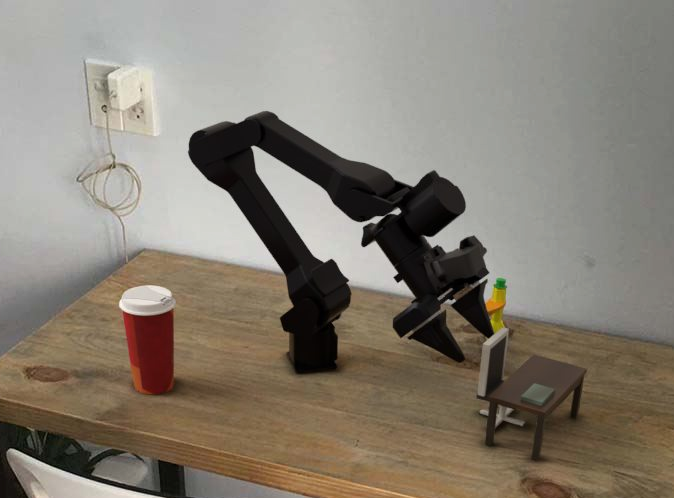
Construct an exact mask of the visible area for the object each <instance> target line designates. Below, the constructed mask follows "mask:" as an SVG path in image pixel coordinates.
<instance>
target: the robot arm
mask: <svg viewBox="0 0 674 498" xmlns="http://www.w3.org/2000/svg"><path fill="white" fill-rule="evenodd" d="M252 147H256V148H258V149H259V150H262V151H263V152H264V153H266V154H268V155H269V156H271V157H272V158H274V159H276V160H277V161H279V162H280V163H282V164H284V165H285V166H287V167H289V168H290V169H292V170H294V171H295V172H296V173H298V174H300V175H301V176H303V177H305V178H306V179H308V180H310V181H311V182H313V183H314V184H316V185H318V186H319V187H320V188H321V189H322V190H323V191H325V192H326V193H327V196H328V197H329V199H330V200H331V202H332V204H333V205H334V206H335V207H336V208H338V210H340V211H341V212H342V213H343V214H344V215H345V216H347V218H349V219H350V220H351V221H354V222H356V223H363V222H364V223H366V222H368V221H370V220H372V219H374V218H376V217H382V218H381V219H380V220H378V221H377V222H376V223H374V222H369V223H367V224H365V225H363V226H362V237H361V242H360V246H361V247H362V248H366V247H368V246H369V245H371V244H373V243H376V244H377V246H378V247H379V248H380V250H381V251H382V253H383V254H384V256H385V257H386V259H387V260H388V261H389V263H390V265H392V267H394V269H395V271H396V272H397V274H395V275H394V276H393V277H392V278H393V279H394V281H395V282H396V284H399V283H400V282H402V281H403V282H404V284H405V285H406V287H407V288H408V289H409V291H410V292H411V293H412V295H413V297H414V299H413V300H412V301H410V303H411V304H410V305H409V306H407V307H406V308H404V309H403V310H402V311H401V312H399V313H398V314H397V315H395V316H394V317H393V318H392V328H393V330H394V331H395V333H396V334H397V336H398V337H399V338H400V339H402V338H404V337H405V336H406V335H408V334H409V333H411V332H412V333H411V334H410V335H408V336H407V337H406V339H408V340H409V341H412V340H414V341H415V342H417V343H418V342H419V343H420V344H422V345H424V346H427V347H429V348H431V349H433V350H434V351H436V352H438V353H440V354H441V355H443V356H445V357H447V358H448V359H451V360H452V361H455V363H457V364H461V363H463V362H465V361H466V356H465V355H464V352H463V350H462V349H461V346H460V345H459V344H458V342H457V340H456V339H455V337H454V335H453V334H452V332H451V329H450V328H449V327H448V325H447V309H444V310H443V311H441V310H442V309H441V308H442V305H443V304H444V303H446V302H447V301H450V302H451V301H453V300H455V301H454V302H453V303H451V304H450V307H451V308H452V309H453V310H454V311H456V313H458V314H459V315H460V316H461V317H462V318H463V319H465V320H466V321H467V322H468V323H469V324H470V325H471V326H472V327H473V328H474V329H476V331H478V332H479V333H480V334H481V335H482V336H484V337H485V338H486V337H487V338H488V339H489V338H490V337H491V336H493V335H494V331H493V327H492V324H491V321H490V320H491V317H490V315H488V311H487V308H486V305H485V303H486V301H485V297H484V296H485V290H486V285H487V284H488V283H489V280H488V278H485V277H486V276H488V275H489V274H490V271H489V270H488V268H487V265H486V262H485V258H484V257H485V255H486V254H487V252H488V249H487V248H486V247H485V246H484V245H483V244H482V243H483V242H481V241H480V240H479V239H478V238H477V236H475V235H469V236H466V237H464V238H463V239H461V240H460V241H459V248H458V247H457V248H455V249H454V250H451V251H448V252H446V251H445V250H444V248H443V247H442V246H441V245H439V244H436V245H435V246H433V247H432V245H431V244H430V242H429V241H428V239H427V238H434V237H435V236H436V235H438V234H439V233H440V232H441V231H443V230H445V228H447V227H448V226H449V225H450V224H452V222H454V221H455V220H457V219H458V218H460V216H462V215H463V214H464V213H465V211H466V208H467V203H466V199H465V196H464V194H463V193H462V191H461V189H460V187H459V186H458V185H455V184H454V183H453V182H452V181H450V180H449V179H448V178H445V177H443V176H440V175H439V173H438V171H436V169H432V170H431V171H429V172H427V173H426V174H425V175H423V176H422V177H421V178H420V180H419V182H417V183H416V184H415V185H414V186H413V185H410V184H407V183H405V182H402V181H399V180H397V179H395V178H394V177H393V175H391V174H390V173H389V172H388V171H386V170H384V169H383V168H379V167H377V166H374V165H372V164H370V163H366V162H364V161H363V162H362V161H356V160H350V159H347V158H345V157H342V156H340V155H339V154H337V153H335V152H334V151H332V150H330V149H329V148H327V147H326V146H324V145H322V144H321V143H319V142H317V141H316V140H314V139H312V138H311V137H310V136H308V135H306V134H304V133H303V132H301V131H299V130H298V129H296V128H295V127H293V126H291V125H289V124H288V123H287V122H285V121H283V120H281V119H280V118H279V116H278V115H277V114H276V113H275V112H272V111H269V110H263V111H260V112H257V113H254V114H252V115H249V116H247V117H245V118H244V119H243V120H242V121H239V122H234V121H233V122H232V121H228V120H225V121H220V122H217V123H215V124H212V125H209V126H207V127H204V128H200V129H198V130H196V131H194V132H193V133H191V136H190V137H189V141H188V151H187V154H188V158H189V160H190V162H191V163H192V165H194V167H195V168H196V169H197V170H198V172H199V173H201V174H202V176H203V177H204V178H205V179H206V180H207V181H208V182H209V183H212V184H214V185H215V186H217V188H218V187H219V188H220V189H222V190H223V191H225V192H227V193H228V194H229V196H230V197H231V199H232V200H233V201H234V203H235V204H236V206H237V208H238V209H239V210H240V212H241V213H242V215H243V216H244V217H245V219H246V220H247V222H248V223H249V225H250V226H251V228H252V230H253V231H254V232H255V233H256V235H257V236H258V237H259V239H260V241H261V242H262V244H263V245H264V247H265V248H266V249H267V251H268V253H269V254H270V255H271V257H272V258H273V260H274V261H275V263H276V265H278V267H279V269H280V270H282V273H283V274H284V277H285V278H286V279H285V281H286V287H287V295H288V299H289V300H290V303H291V305H292V307H291V308H289V309H288V310H287V311H286V312H285V313H284V314H282V315H281V316H279V320H280V324H281V327H282V330H283V332H286V333H288V351H286V353H285V356H286V358H287V360H288V361H289V363H290V365H291V368H292V369H293V372H294V373H296V374H302V373H303V374H304V373H313V372H314V373H315V372H321V371H323V372H324V371H331V370H332V371H333V370H337V369H338V364H337V362H336V361H337V360H338V357H339V356H338V355H339V354H338V353H339V349H338V346H339V335H338V334H337V332H336V329H335V328H336V326H335V325H334V323H335V321H338V320H340V318H341V316H342V315H343V313H344V312H345V311H347V310H348V308H349V307H350V305H351V300H352V294H353V293H352V290H351V288H350V286H349V284H348V283H349V282H350V279H349V278H348V277H347V276H345V275H344V273H342V271H341V269H340V267H339V266H338V263H337V261H335V260H334V259H333V258H330V259H328V260H327V261H325V262H324V261H323V260H322V259H321V260H320V259H319V258H317V257H316V256H315V255H314V254H313V253H312V252H311V250H310V249H309V248H308V246H307V244H306V243H305V242H304V240H303V239H302V237H301V236H300V234H299V232H298V231H297V230H296V229H295V227H294V225H293V224H292V223H291V221H290V220H289V218H288V217H287V215H286V214H285V212H284V210H282V208H281V207H280V205H279V203H278V202H277V200H276V199H275V197H274V196H273V195H272V193H271V192H270V190H269V189H268V188H267V186H266V185H265V183H264V182H263V180H262V179H261V177H260V176H259V174H258V173H257V168H256V161H255V154H254V150H253V148H252ZM398 209H399V210H400V212H399V213H398V214H395V213H392V212H394V211H396V210H398ZM484 278H485V279H484ZM483 279H484V280H483ZM481 280H482V282H480V281H481ZM439 311H441V312H439Z"/></svg>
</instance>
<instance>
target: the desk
mask: <svg viewBox="0 0 674 498" xmlns="http://www.w3.org/2000/svg"><path fill="white" fill-rule="evenodd" d="M587 372H588V368H586V367H582V366H579V365H575V364H571V363H567V362H564V361H561V360H557V359H553V358H550V357H546V356H542V355H539V354H535V353H533V354H532V355H531V356H530V357H529V358H528V359H527V360H525V361H524V362H523V363H522V364H521V365H520V366H519V367H518V368H517V369H516V370H515V371H514V372H513V373H512V374H510V375H509V376H508V378H506V379H505V380H504V382H503V383H502V384H501V385H500V386H499V387H498V388H497V389H496V390H495V391H493V392H492V393H491V394H490V395H489V398H488V401H490V402H488V401H487V402H488V403H489V405H488V411H489V412H488V416H487V423H486V431H485V438H484V439H485V441H484V445H485V446H488V447H492V446H493V445H494V441H495V434H496V433H495V432H496V428H495V424H496V419H497V418H496V416H497V414H498V406H499V405H498V404H502V405H505V406H509V407H512V408H515V409H517V410H518V411H522V412H524V413H525V412H526V413H529V414H532V415H536V423H535V429H534V437H533V444H532V450H531V460H532V461H535V462H538V461H539V460H540V458H541V452H542V444H543V438H544V431H545V426H546V425H545V424H546V420H547V419H549V417H550V416H551V415H552V414H553V413H554V412H555V411H556V410H557V409H558V408H559V407H560V406H561V404H562V403H564V401H565V400H566V399H567V398H568V397H569V396H570V395H571V394H572V393H573V395H572V401H571V408H570V413H569V417H570V418H572V419H577V418H578V417H579V412H580V407H581V401H582V395H583V386H584V381H585V376H586V374H587Z"/></svg>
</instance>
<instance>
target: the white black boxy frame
mask: <svg viewBox="0 0 674 498" xmlns="http://www.w3.org/2000/svg"><path fill="white" fill-rule="evenodd" d="M509 331H510V329H509V328H508V327H505V328H504V327H502V328H501V329H500V330H499V331H497V332H496V333H495V334H494V335H493V336H491V337H490V338H489V339H488V340H487V339H486V340H485V341H483V343H482V349H481V355H480V367H479V376H478V386H477V393H476V396H475V397H476V399H478V400H481V401H484V402H488V403H490V401H488V398H489V395H490V394H491V393H492V392H493V391H495V390H496V389H497V388H498V387H499V386H500V385H501V384H502V383H503V382H504V381H505V380H504V376H505V369H506V360H507V349H508V342H509ZM498 406H499V412H498V413H497V416H496V424H495V429H496V428H497V427H498V426H500V424H501V423H502V422H503V421H504V422H507V423H510V424H514V425H517V426H520V427H521V428H526V426H527V424H526V422H525V421H523V420H519V419H517V418H513V417H510V416H509V415H510V414H511V413H513V412H514V410H515V411H517V410H518V409H515V408H512V407H509V406H505V405H502V404H498ZM488 412H489V410H487V409H483V408H481V409H479V410H478V411H477V413H478V415H484V416H487V417H488Z"/></svg>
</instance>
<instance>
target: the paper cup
mask: <svg viewBox="0 0 674 498" xmlns="http://www.w3.org/2000/svg"><path fill="white" fill-rule="evenodd" d="M176 304H177V303H176V298H174V297H173V293H172V292H171V290H170V289H168V288H166V287H164V286H159V285H151V284H150V285H140V286H134V287H132V288H129V289H127V290H125V291H124V292H123V294H122V295H121V299H120V300H119V303H118V306H119V309H120V310H121V311H122V317H123V324H124V331H125V337H126V344H127V350H128V351H127V352H128V356H129V363H130V369H131V376H132V380H133V385H134V389H135V391H137V392H139V393H140V394H144V395H161V394H165V393H167V392H169V391H170V390H172V389H173V387H174V382H175V381H174V380H175V379H174V378H175V335H174V334H175V330H174V329H175V323H174V322H175V321H174V319H175V316H174V315H175V314H174V313H175V310H174V308H175V307H176Z"/></svg>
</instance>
